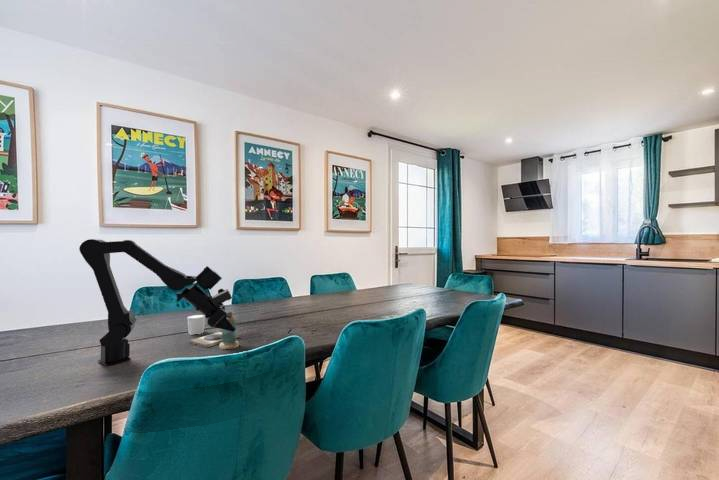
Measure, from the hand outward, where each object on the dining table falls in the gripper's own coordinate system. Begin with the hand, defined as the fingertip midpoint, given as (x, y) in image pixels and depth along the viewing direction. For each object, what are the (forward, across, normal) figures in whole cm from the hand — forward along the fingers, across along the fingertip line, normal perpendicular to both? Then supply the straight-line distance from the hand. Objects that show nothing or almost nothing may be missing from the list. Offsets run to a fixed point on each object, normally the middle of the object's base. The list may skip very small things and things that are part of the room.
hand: (233, 327), depth 116 cm
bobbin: (+4, 0, +6) cm, 7 cm away
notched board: (+1, +10, +9) cm, 14 cm away
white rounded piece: (-4, +24, +14) cm, 28 cm away
